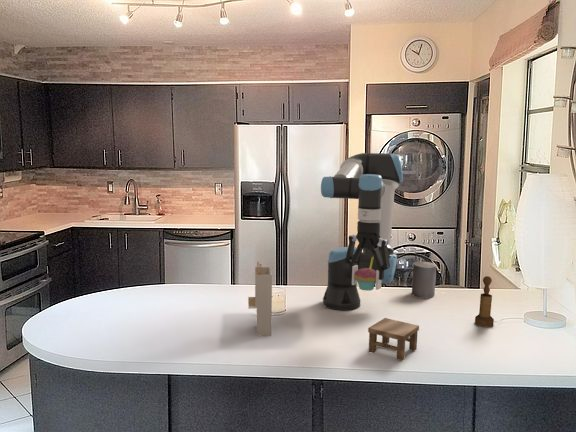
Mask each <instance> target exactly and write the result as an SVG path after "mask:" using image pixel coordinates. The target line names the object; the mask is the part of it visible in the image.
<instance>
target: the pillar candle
mask: <svg viewBox="0 0 576 432" xmlns="http://www.w3.org/2000/svg"><path fill="white" fill-rule="evenodd" d="M412 267H413V269H412V281H411V282H412V284H411V285H412V287H411V296H414V297H415V298H421V299H431V298H434V296H435V293H436V291H435V290H436V280H437V279H436V277H437V264H436V263H433V262H431V261H416V262H414V263H413V266H412Z"/></svg>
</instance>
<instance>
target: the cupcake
mask: <svg viewBox="0 0 576 432" xmlns="http://www.w3.org/2000/svg"><path fill="white" fill-rule="evenodd" d="M373 256H374V255H373ZM373 259H374V257H372V259H371V263H370V268H363V269H359V270H357V271H356V272H355V274H354V278H355V279H356V280H357V286H358V287H359V290H361V291H369V292H370V291H373V290H374V288H375V287H376V271H375V270H373V269H371V268H372V263H373Z"/></svg>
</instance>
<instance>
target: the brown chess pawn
mask: <svg viewBox="0 0 576 432" xmlns="http://www.w3.org/2000/svg"><path fill="white" fill-rule="evenodd" d="M492 281H493V280H492V278H491V277H490V276H489V275H486V276H484V277H483V278H482V282H483V284H484V287H483V288H482V289H483V292H482V293H480V296H479V298H480V300H479V301H480V302H479V312H478V314H477V315H476V316H474V317H475V318H474V324H475V325H476V326H479V327H484V328H491V327H493V326H494V323H495V322H494V318H493V317H492V316H491V310H492V300H493V295H492V294H490V292H491V288H490V285H491V284H492Z"/></svg>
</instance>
